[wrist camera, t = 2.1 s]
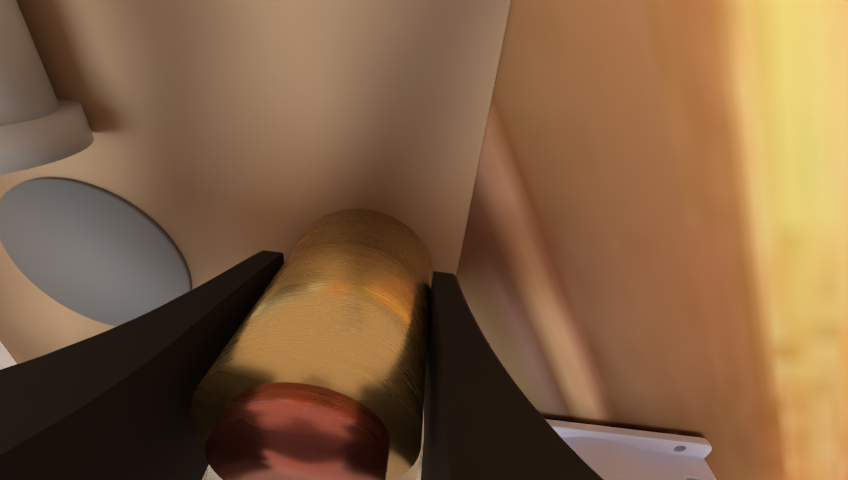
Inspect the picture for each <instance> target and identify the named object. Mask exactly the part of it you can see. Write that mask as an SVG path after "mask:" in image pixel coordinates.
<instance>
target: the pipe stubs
mask: <svg viewBox="0 0 848 480" xmlns="http://www.w3.org/2000/svg"><path fill="white" fill-rule="evenodd" d="M93 141H94V137H93V134H92V131H91V129H90V126H89V123H88V121H87V118H86V116H85V113H84V110H83V108H82V105H81V104H80V103H79V102H77V101H69V100H61V99H57V98H56V95H55V93H54V90H53V88H52V86H51V83H50V81H49V78H48V76H47V73H46V71H45V69H44V66H43V64H42V61H41V59H40V56H39V54H38V52H37V49H36V47H35V44H34V42H33V39H32V37H31V35H30V32H29V30H28V27H27V25H26V22H25V20H24V18H23V15H22V13H21V10H20V8H19V5H18V3H17V1H16V0H0V175H2V174H7V173H12V172H17V171H21V170H26V169H30V168H34V167H38V166H42V165H46V164H49V163H52V162H56V161H59V160H62V159H65V158H67V157H70V156H72V155H75V154H77V153H79V152H81V151H83V150H84V149H86V148H88V147H89V146H90V145H91V144H92V143H93ZM206 476H207V469H206V471H205V474H204V476H203V478H202V480H206Z"/></svg>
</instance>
